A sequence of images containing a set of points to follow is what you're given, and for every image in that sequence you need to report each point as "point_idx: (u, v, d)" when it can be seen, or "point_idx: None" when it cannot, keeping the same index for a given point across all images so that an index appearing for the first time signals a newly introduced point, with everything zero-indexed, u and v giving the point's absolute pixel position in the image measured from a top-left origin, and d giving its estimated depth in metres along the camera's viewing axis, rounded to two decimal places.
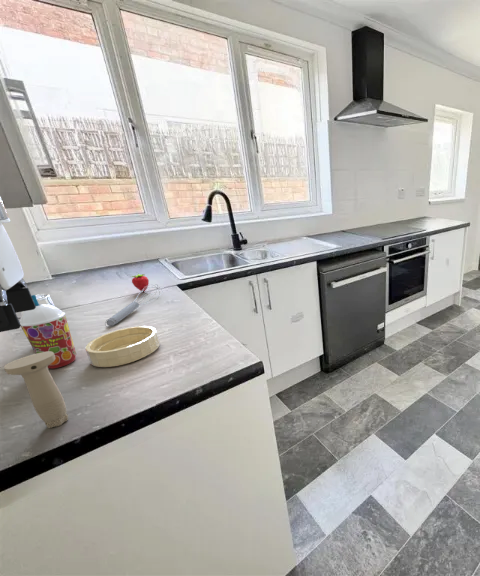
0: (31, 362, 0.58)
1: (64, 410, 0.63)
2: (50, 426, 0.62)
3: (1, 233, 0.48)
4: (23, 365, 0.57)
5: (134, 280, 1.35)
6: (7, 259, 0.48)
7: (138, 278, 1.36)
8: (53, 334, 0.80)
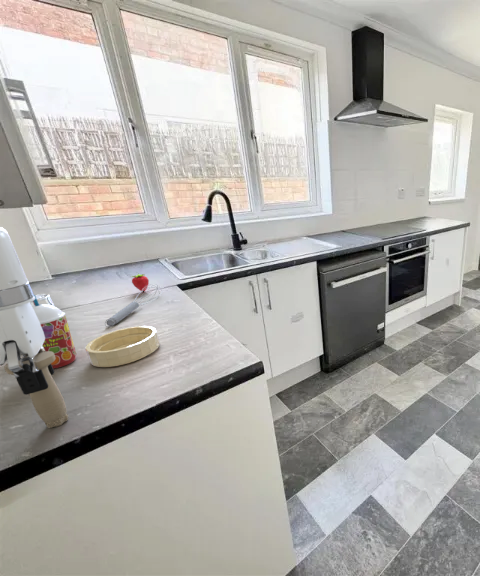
0: None
1: (64, 410, 0.63)
2: (50, 426, 0.62)
3: (28, 309, 0.56)
4: None
5: (134, 280, 1.35)
6: (33, 331, 0.57)
7: (138, 278, 1.36)
8: (53, 334, 0.80)
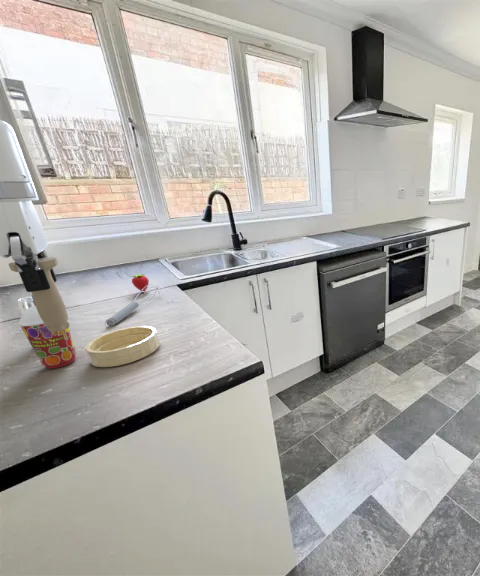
0: None
1: (65, 317, 0.65)
2: (52, 330, 0.64)
3: (31, 209, 0.59)
4: None
5: (134, 280, 1.35)
6: (36, 230, 0.59)
7: (138, 278, 1.36)
8: (53, 334, 0.80)
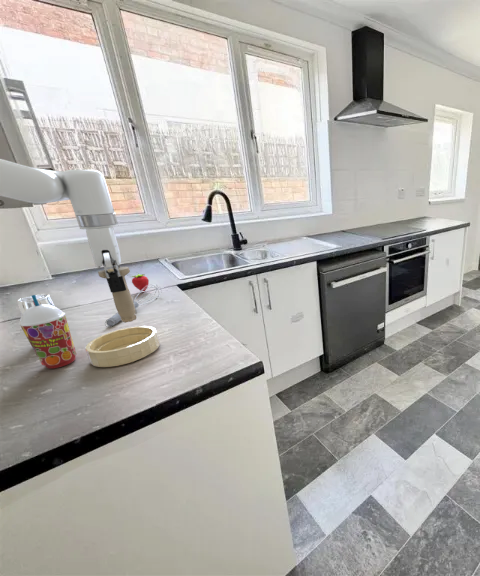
0: None
1: (134, 311, 0.87)
2: (125, 321, 0.86)
3: (114, 232, 0.81)
4: None
5: (134, 280, 1.35)
6: (117, 247, 0.81)
7: (138, 278, 1.36)
8: (53, 334, 0.80)
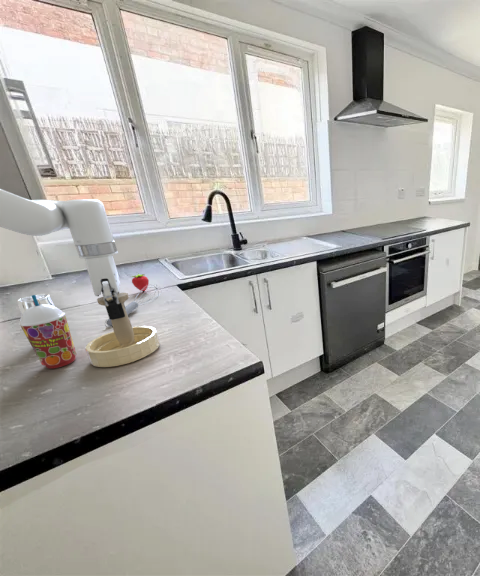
0: None
1: (133, 336, 0.87)
2: (124, 346, 0.86)
3: (113, 259, 0.81)
4: None
5: (134, 280, 1.35)
6: (117, 275, 0.81)
7: (138, 278, 1.36)
8: (53, 334, 0.80)
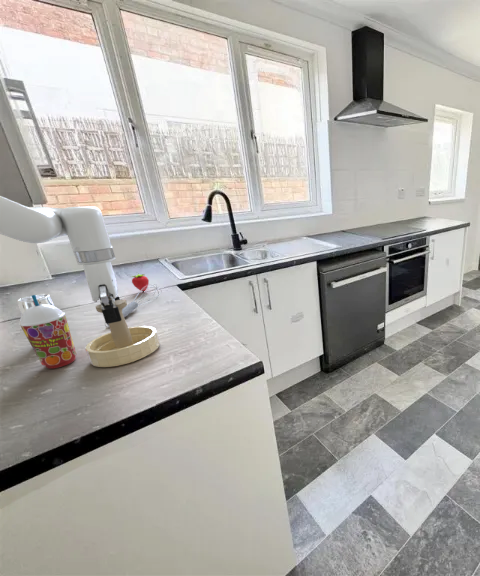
0: None
1: (131, 342, 0.89)
2: None
3: (111, 265, 0.82)
4: None
5: (134, 280, 1.35)
6: (114, 280, 0.82)
7: (138, 278, 1.36)
8: (53, 334, 0.80)
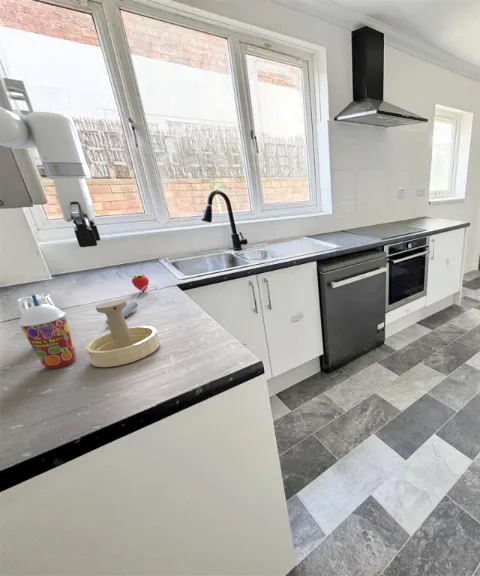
0: (113, 305, 0.83)
1: (131, 342, 0.89)
2: None
3: (85, 185, 0.75)
4: (108, 306, 0.82)
5: (134, 280, 1.35)
6: (89, 201, 0.75)
7: (138, 278, 1.36)
8: (53, 334, 0.80)
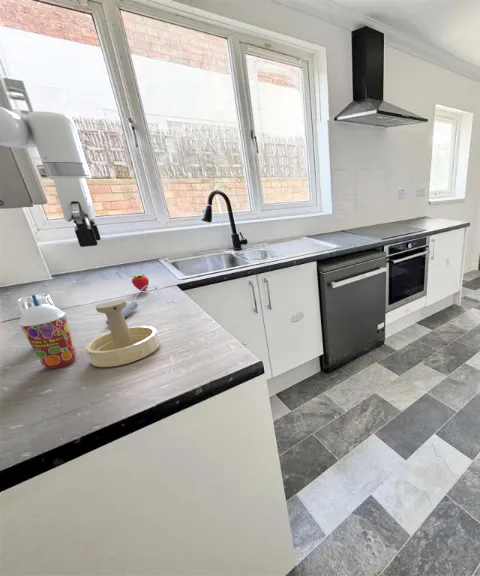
0: (113, 305, 0.83)
1: (131, 342, 0.89)
2: None
3: (86, 184, 0.75)
4: (108, 306, 0.82)
5: (134, 280, 1.35)
6: (89, 201, 0.75)
7: (138, 278, 1.36)
8: (53, 334, 0.80)
